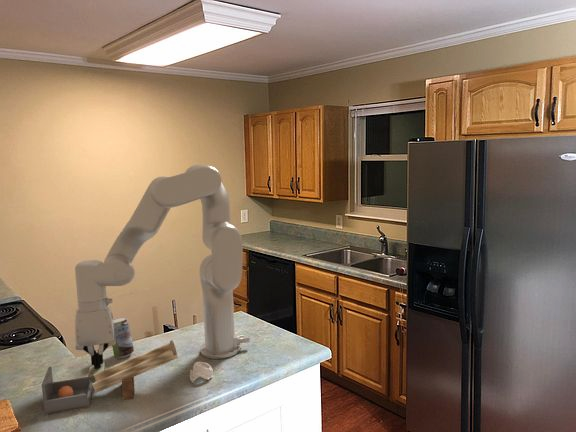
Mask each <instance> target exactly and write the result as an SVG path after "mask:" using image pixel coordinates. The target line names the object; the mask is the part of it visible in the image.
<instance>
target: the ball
mask: <svg viewBox="0 0 576 432" xmlns="http://www.w3.org/2000/svg"><path fill="white" fill-rule="evenodd" d="M68 396H73V389H72V388H71V387H70V386H64V387H62V388H61V389H60V390H59V392H58V397H59V398H63V397H68Z"/></svg>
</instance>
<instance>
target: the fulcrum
mask: <svg viewBox="0 0 576 432" xmlns="http://www.w3.org/2000/svg"><path fill="white" fill-rule="evenodd" d="M121 393H122V394H121V395H122V398H123V401H129V400H130V401H131V400H134V396H135V377H131V378H125V379H122V382H121Z"/></svg>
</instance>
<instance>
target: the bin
mask: <svg viewBox="0 0 576 432" xmlns="http://www.w3.org/2000/svg"><path fill="white" fill-rule="evenodd" d="M53 378H54V377H53V370H52V366H48V368H47V370H46V373H45V376H44V378H43V380H42V382H41V383H42V384H41V390H42V391H41V393H42V400H43V409H44V415H45V416H47V415H46V414H48V415H53V414H59V413H65V412H70V411H75V409H76V410H80V409H86V408H90V406H91V400H92V394H93V390H94V388H93V385H92V384H93V380H91V381H90V379H89V377H88V376H84V377H77V378H72V379H64V380H59V381H58V380H57V381H53ZM64 386H70V387H71V388H72V389H73V396H68V397H63V398H59V397H58V392H59V390H60V389H61V388H62V387H64ZM69 410H70V411H69Z"/></svg>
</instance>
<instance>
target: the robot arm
mask: <svg viewBox="0 0 576 432" xmlns="http://www.w3.org/2000/svg"><path fill="white" fill-rule="evenodd" d="M228 194H229V193H228V192H227V189H226V187H225V186H224V183H223V182H222V175H221V173H220V171H219V170H218V169H217V168H216V167H214V166H212V165H206V164H194V165H190V167H188V168H187V169H186V171H185V172H183V173H179V174H175V175H171V176H158V177H155V178H154V179H152V181H150V183H149V184H148V186H147V188H146V190H145V192H144V194H143V195H142V197H141V198H140V201H139V203H138V205H137V207H136V208H135V210H134V211H133V214H132V215H131V217H130V219H129V220H128V222H127V223H126V225H125V226H124V227H123V228H122V230H121V232H120V233H119V234H118V236H117V237H116V238H115V240H114V242H113V244H112V246H110V247H111V248H109V251H108V253H107V255H106V257H105V259H104V261H103V262H102V261H101V260H98V259H90V260H88V259H87V260H83V261H80V262H78V263H77V264H76V265H75V267H74V272H75V273H74V274H75V285H76V287H75V288H76V297H77V309H76V310H75V315H74V316H75V317H74V339H75V347H74V349H75V350H76V351H84V352H86V353H87V354H88V355H89V356H90V358H91V359H90V361H91V366H94V369H96V368H97V366H98V368H101V364H103V361H104V355H103V353H104V352H105V351H106V350H107V349H108V348H109V347H112V345H115V344H116V339H115V337H114V335H115V330H114V322H113V320H114V317H113V316H114V315H113V311H112V308H111V306H110V304H113V298H109V297H108V296H107V287H123V286H126V285H128V284H130V283H131V282H132V281H133V279H134V278H135V275H136V270H135V268H134V267H135V266H134V265H133V264H132V263H133V261H134V259H135V257H136V256H137V254H138V252H139V251H140V249H141V248H142V246H143V245H145V243H146V242H148V241H149V240H151V239H152V238H154V236H156V235H157V234H158V232H159V230H160V228H161V227H162V224H163V223H164V221H165V219H166V218H167V216H168V214H169V212H170V210H171V209H172V208H176V207H180V206H183V205H187V204H189V203H192V202H194V201H198V200H200V202H201V209H202V210H201V211H202V238H201V239H202V242H203V244H204V246H205V247H206V248H208V249H209V250H211V254H208V255H207V256H205V257H204V258H203V259H202V260H201V263H200V266H199V279H200V284H201V286H200V287H201V291H202V292H201V293H202V304H203V305H202V306H203V307H202V308H203V311H202V312H203V323H204V324H203V325H204V326H203V327H204V328H203V329H204V344H203V345H202V346H201V347H200V354H201V355H202V357H205V358H207V359H215V360H217V359H227V358H230V357H233V356H235V355H237V354H238V353H239V352H240V350H241V344H246V343H250V340H251V339H250V336H245V335H244V334H242V335H241V334H240V335H236V334H235V313H234V312H235V311H234V309H235V307H234V293H233V291H234V290H235V289H236V288H238V287H239V285H240V284H241V283H240V282H241V281H242V277H243V251H244V250H243V245H244V244H243V238H242V234H241V232H240V230H239V229H238V228H237V227H236V226H235V225H233V224H232V223H231V206H230V205H231V204H230V198H229V195H228ZM97 345H98V349H97V351H96V349H95V346H97Z"/></svg>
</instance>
